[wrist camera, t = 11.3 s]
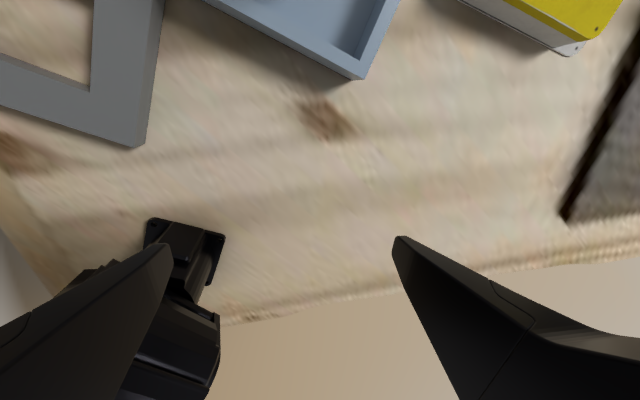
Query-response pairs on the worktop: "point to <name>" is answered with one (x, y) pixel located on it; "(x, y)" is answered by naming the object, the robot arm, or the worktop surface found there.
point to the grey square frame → (97, 76)
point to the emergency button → (551, 19)
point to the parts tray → (320, 28)
